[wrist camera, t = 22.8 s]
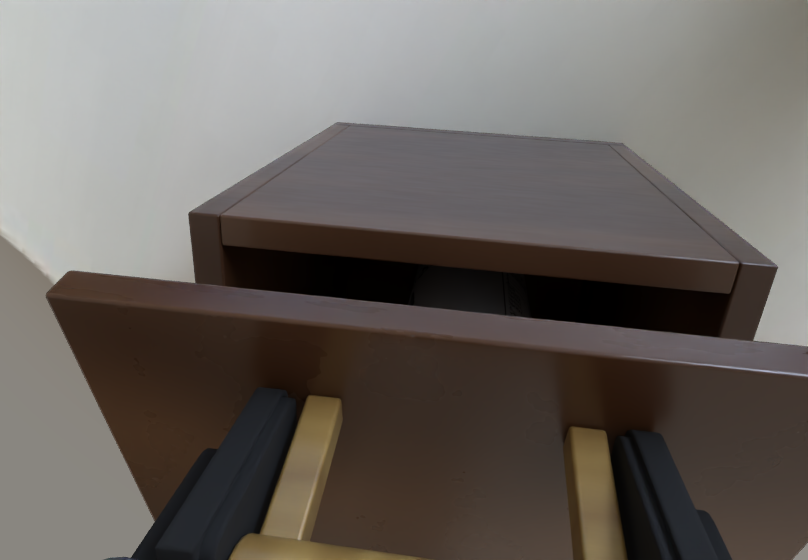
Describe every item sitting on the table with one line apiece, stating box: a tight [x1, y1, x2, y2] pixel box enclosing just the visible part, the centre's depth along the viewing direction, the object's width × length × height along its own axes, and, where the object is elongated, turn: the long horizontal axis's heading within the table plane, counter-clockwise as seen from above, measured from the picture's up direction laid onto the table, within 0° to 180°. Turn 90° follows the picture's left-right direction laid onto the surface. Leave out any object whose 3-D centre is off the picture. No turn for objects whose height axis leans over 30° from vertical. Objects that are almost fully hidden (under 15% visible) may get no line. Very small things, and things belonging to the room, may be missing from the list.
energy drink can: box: [408, 264, 531, 318], centre depth 26 cm, size 6×6×15 cm
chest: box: [188, 122, 778, 341], centre depth 26 cm, size 18×15×17 cm
